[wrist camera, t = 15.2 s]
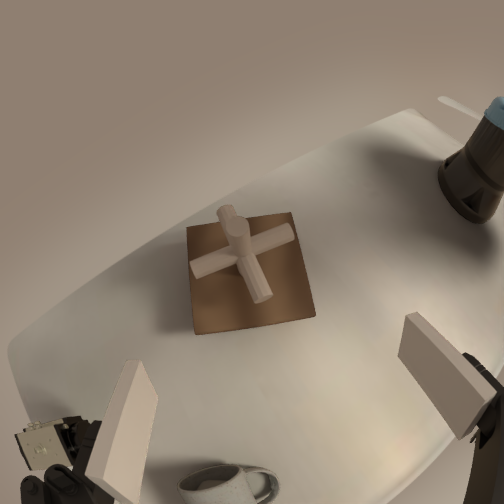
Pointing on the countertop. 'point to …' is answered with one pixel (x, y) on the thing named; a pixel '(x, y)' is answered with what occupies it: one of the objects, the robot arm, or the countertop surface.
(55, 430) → the pneumatic valve
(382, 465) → the countertop surface
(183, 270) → the countertop surface
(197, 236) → the walnut stand
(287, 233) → the pipe connector
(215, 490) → the ceramic mug
